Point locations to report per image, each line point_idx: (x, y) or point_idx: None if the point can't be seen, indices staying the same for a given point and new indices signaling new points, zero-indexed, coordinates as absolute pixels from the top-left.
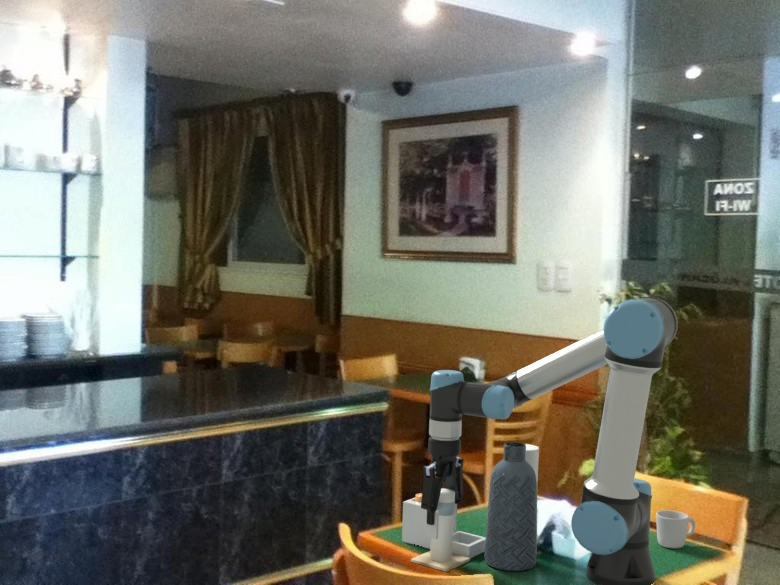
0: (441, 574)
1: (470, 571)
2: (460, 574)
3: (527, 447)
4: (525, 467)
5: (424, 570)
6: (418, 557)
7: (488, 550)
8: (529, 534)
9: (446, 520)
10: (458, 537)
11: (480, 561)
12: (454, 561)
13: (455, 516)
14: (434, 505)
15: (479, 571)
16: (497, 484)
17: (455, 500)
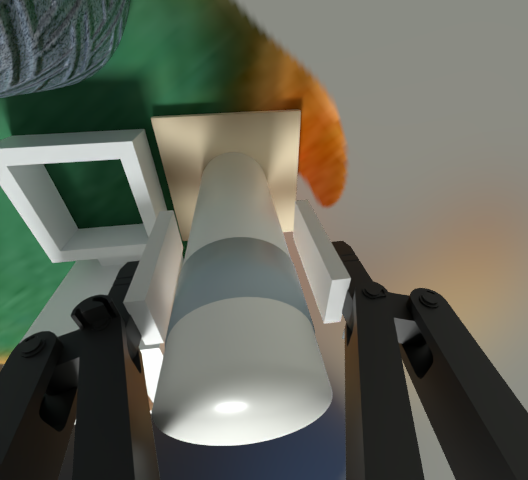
0: (326, 107)
1: (237, 40)
2: (288, 52)
3: None
4: None
5: (326, 166)
6: None
7: (108, 8)
8: None
9: (268, 229)
10: (74, 241)
11: (122, 79)
12: (221, 137)
13: (154, 250)
14: (392, 312)
15: (210, 6)
16: None
17: (123, 327)
